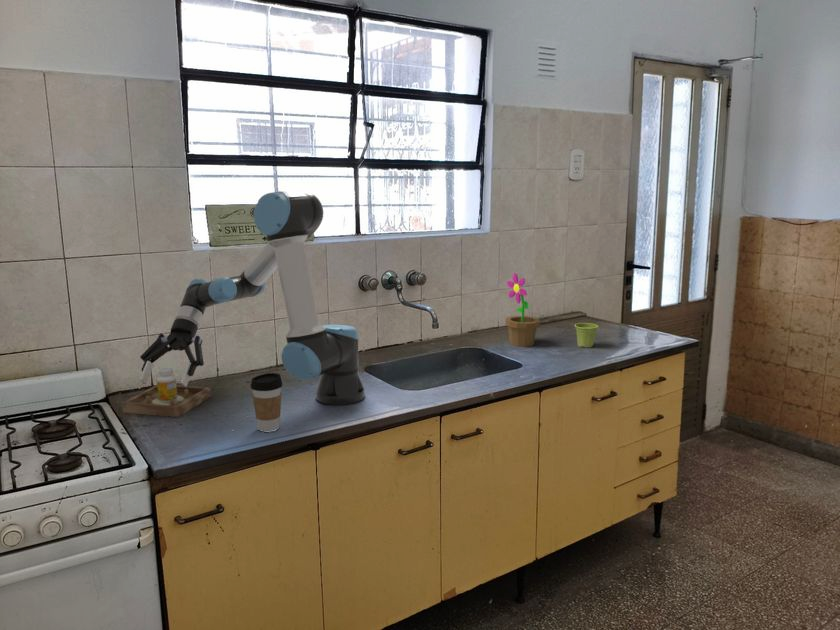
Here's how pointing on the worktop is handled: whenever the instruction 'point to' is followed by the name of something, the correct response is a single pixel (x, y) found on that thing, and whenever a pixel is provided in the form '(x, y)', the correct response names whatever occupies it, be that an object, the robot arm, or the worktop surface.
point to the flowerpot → (521, 318)
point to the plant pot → (586, 334)
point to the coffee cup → (267, 400)
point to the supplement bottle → (166, 385)
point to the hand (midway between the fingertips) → (162, 383)
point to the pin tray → (152, 406)
